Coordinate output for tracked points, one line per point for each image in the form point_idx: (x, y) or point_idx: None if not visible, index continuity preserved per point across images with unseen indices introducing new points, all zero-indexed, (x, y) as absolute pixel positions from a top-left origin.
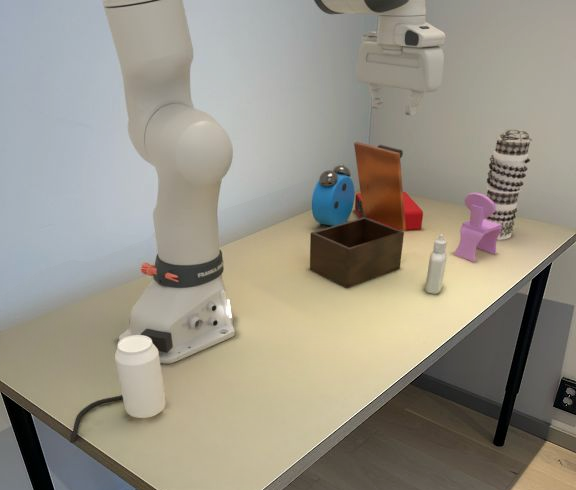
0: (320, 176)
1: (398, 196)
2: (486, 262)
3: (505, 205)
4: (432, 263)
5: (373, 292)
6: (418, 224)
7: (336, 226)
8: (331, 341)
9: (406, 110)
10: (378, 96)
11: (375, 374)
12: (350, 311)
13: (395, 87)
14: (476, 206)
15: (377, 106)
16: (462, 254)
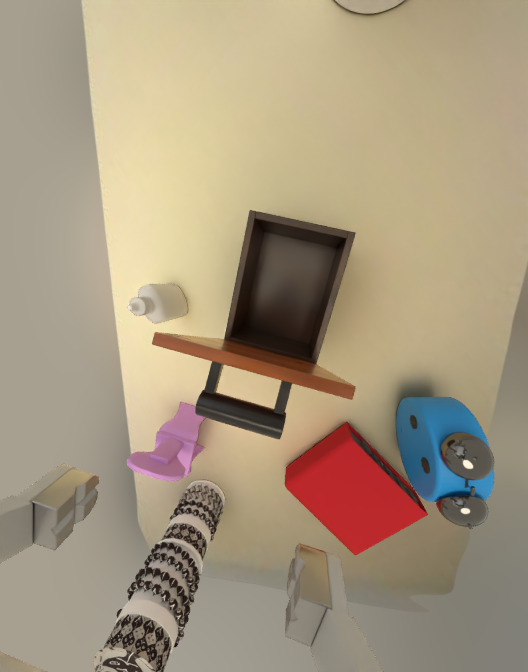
0: (487, 448)
1: (208, 338)
2: (170, 409)
3: (171, 523)
4: (151, 284)
5: (227, 240)
6: (289, 468)
7: (331, 293)
8: (188, 74)
9: (74, 484)
10: (320, 657)
11: (107, 49)
12: (218, 168)
13: (28, 664)
14: (158, 457)
15: (297, 555)
16: None
